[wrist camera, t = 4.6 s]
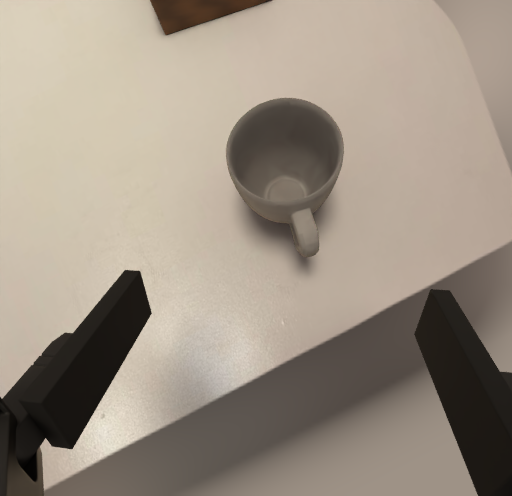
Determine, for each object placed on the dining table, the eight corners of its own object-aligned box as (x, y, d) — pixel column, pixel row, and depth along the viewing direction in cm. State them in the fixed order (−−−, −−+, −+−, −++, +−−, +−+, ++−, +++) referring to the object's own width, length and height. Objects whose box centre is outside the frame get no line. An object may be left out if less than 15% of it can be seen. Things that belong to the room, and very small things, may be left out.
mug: (234, 172, 33) (213, 116, 24) (313, 148, 33) (323, 81, 24) (264, 279, 30) (252, 261, 21) (351, 254, 30) (378, 225, 21)
